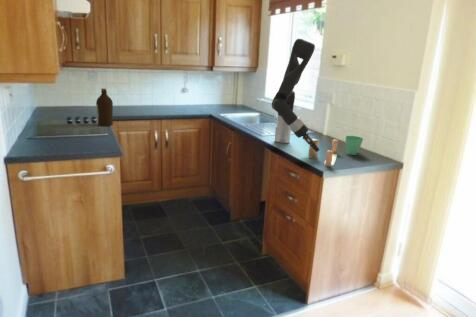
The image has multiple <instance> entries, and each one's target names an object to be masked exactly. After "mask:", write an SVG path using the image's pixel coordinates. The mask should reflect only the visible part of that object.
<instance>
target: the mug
mask: <svg viewBox="0 0 476 317" xmlns="http://www.w3.org/2000/svg"><path fill="white" fill-rule="evenodd" d="M363 141H364V138H363V137H361V136H356V135H346V136H345V148H346V149H345V150H346V153H347V155H349V156H355V155H357V154H358V152H359V150H360V147H361V146H362V143H363Z"/></svg>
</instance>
